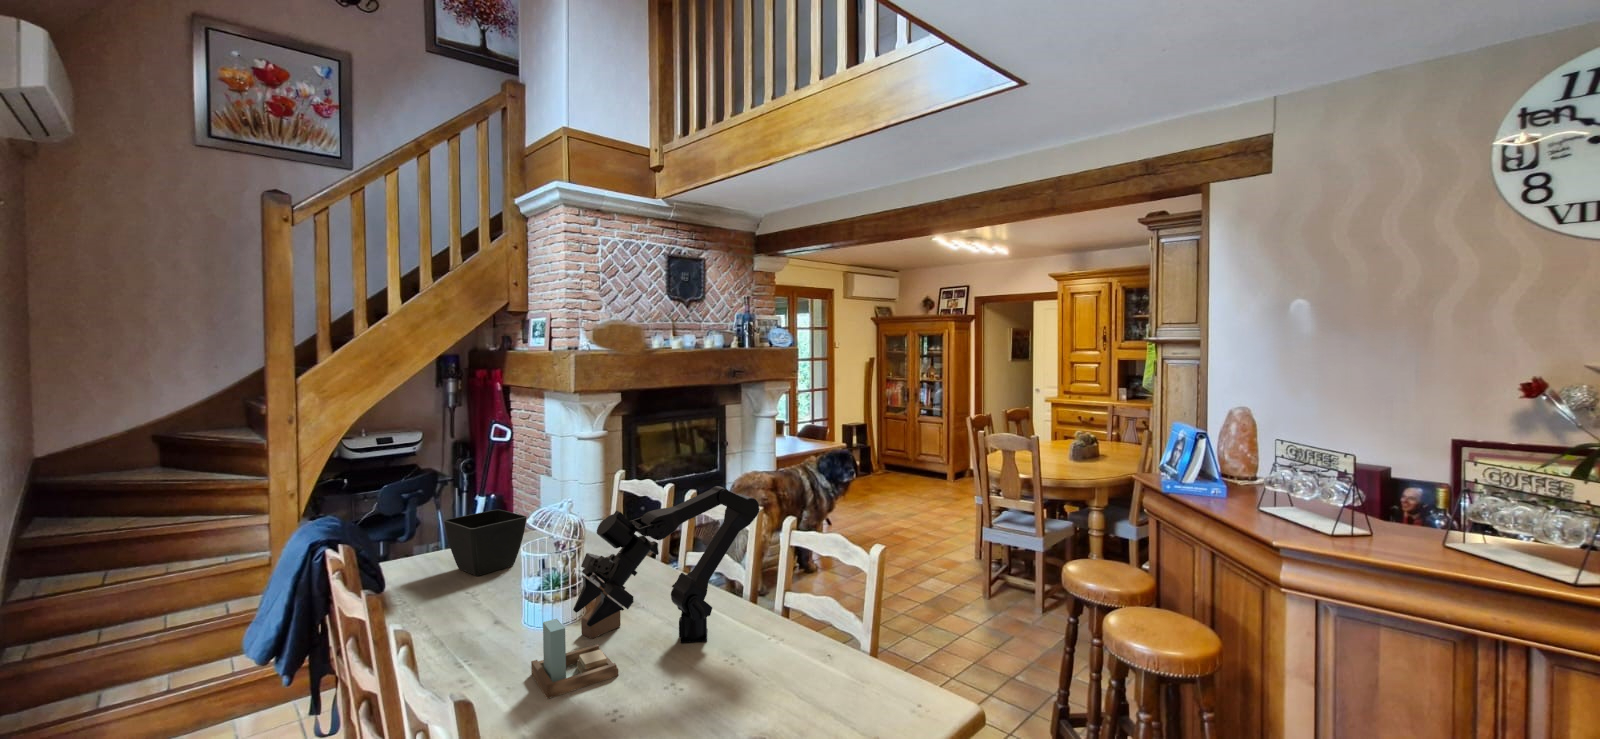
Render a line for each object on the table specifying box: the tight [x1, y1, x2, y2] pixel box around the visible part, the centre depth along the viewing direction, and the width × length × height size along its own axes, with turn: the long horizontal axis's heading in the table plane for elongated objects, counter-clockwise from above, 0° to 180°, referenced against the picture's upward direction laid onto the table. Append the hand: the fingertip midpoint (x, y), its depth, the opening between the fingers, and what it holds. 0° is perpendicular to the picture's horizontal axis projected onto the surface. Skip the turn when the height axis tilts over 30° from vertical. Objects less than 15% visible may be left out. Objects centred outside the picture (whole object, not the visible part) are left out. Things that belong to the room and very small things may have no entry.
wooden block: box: [580, 555, 621, 640], centre depth 159 cm, size 9×4×18 cm, turn 144°
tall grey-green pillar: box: [542, 618, 567, 682], centre depth 135 cm, size 3×6×12 cm, turn 37°
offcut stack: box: [576, 648, 607, 674], centre depth 140 cm, size 5×6×3 cm
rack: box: [530, 643, 619, 700], centre depth 138 cm, size 15×12×3 cm
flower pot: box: [443, 509, 528, 577], centre depth 207 cm, size 19×19×17 cm
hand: (581, 618), depth 138 cm, fingers open, 9 cm apart
